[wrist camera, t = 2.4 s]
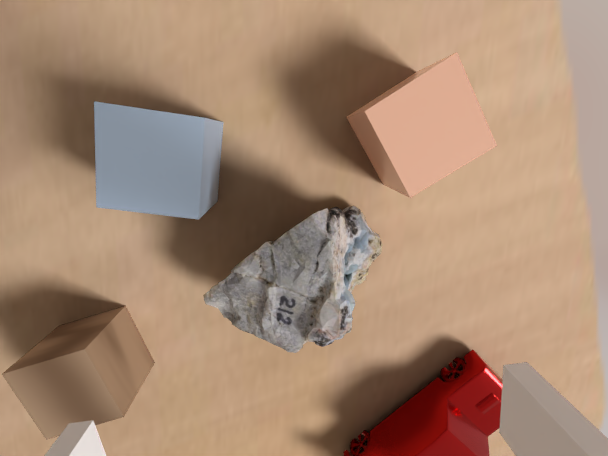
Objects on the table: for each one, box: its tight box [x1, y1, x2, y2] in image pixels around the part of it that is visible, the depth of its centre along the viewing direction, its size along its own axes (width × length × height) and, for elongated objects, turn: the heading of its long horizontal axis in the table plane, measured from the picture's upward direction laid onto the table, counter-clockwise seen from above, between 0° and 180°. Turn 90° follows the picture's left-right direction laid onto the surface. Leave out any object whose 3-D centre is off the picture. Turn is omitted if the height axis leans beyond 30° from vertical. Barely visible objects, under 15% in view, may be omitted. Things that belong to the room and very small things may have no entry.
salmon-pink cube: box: [346, 53, 497, 198], centre depth 19 cm, size 5×5×5 cm
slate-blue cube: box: [94, 101, 223, 219], centre depth 18 cm, size 5×5×5 cm
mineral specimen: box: [204, 206, 382, 353], centre depth 21 cm, size 10×8×10 cm
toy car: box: [343, 350, 503, 456], centre depth 25 cm, size 14×6×5 cm, turn 134°
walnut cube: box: [2, 306, 155, 440], centre depth 22 cm, size 5×5×5 cm
